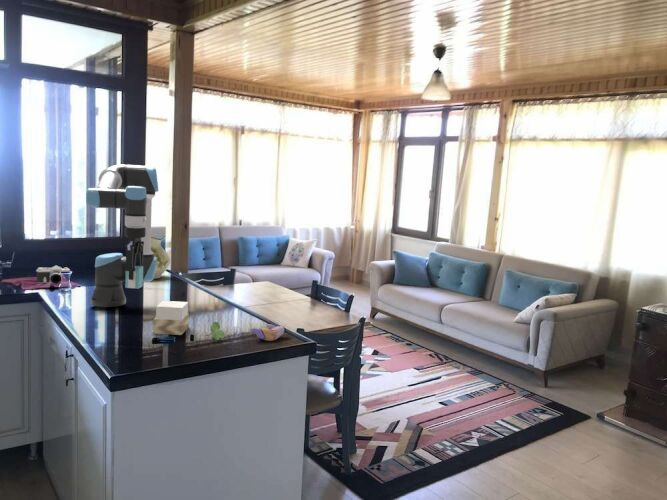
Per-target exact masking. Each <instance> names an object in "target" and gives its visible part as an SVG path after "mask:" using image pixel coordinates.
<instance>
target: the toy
mask: <svg viewBox="0 0 667 500" xmlns="http://www.w3.org/2000/svg"><path fill="white" fill-rule="evenodd" d="M266 326H267V327H260V328H253V327H251V328H250V331H252V332H253V333H255V335H256V336H257V337H258V338H259V339H261V340H263V341H268V342H269V341H270V342H271V341H272V342H273V341H275V340H278V339H279V338H280V337H281V336H283V335H284V334H285V333H286V332H287V329H286V328H285V326H284V325H278V326H276V325H274V324H272V323H271V324H270V323H269V324H266Z"/></svg>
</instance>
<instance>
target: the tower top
mask: <svg viewBox="0 0 667 500" xmlns="http://www.w3.org/2000/svg"><path fill="white" fill-rule="evenodd" d="M187 314H189V301H179V300H177V301H176V300H175V301H173V300H172V301H171V300H162V301H161V302H160V303H158V304H157V305H156V306H155V317H156V319H163V320H183V319H184V318H185V317H186V315H187Z"/></svg>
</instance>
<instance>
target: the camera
mask: <svg viewBox="0 0 667 500" xmlns="http://www.w3.org/2000/svg"><path fill="white" fill-rule="evenodd" d="M70 271H71V269H70V268H68V267H64V268H62V267H61V266H59V265H56V264H55V265H54V266H52V267H37V269H36V270H35V272H36V284H37V283H53V284H52V285H58V284H59V283H60V282H61V276H60V274H59V273H60V272H70ZM70 273H71V272H70Z"/></svg>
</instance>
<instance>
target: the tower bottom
mask: <svg viewBox="0 0 667 500" xmlns="http://www.w3.org/2000/svg"><path fill="white" fill-rule="evenodd" d="M152 319H153V320H152V334H157V335H175V336H176V335H177V336H182V335H183V334H184V333H185V332H186V331H187V330H188V329H189V327H190V313H188V314H187V315H186V317H185V318H184V319H183V320H163V319H156V316H155V317H154V318H152Z"/></svg>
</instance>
